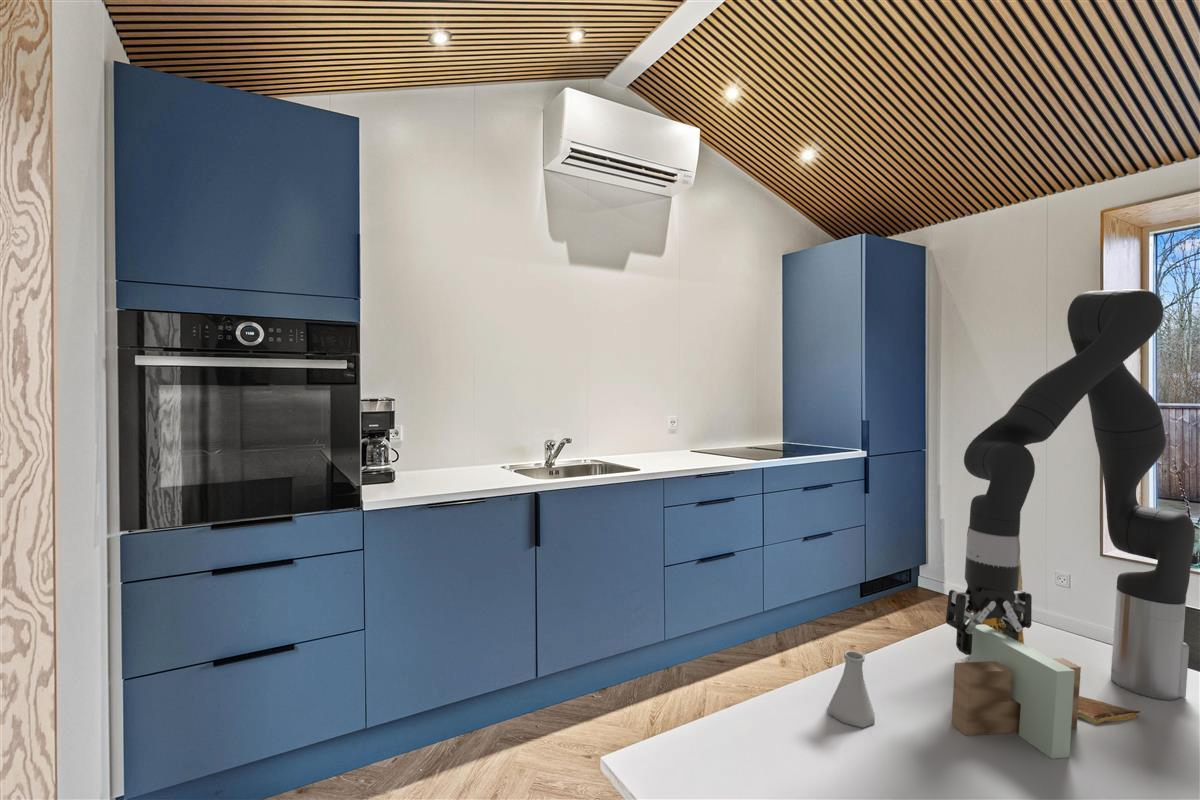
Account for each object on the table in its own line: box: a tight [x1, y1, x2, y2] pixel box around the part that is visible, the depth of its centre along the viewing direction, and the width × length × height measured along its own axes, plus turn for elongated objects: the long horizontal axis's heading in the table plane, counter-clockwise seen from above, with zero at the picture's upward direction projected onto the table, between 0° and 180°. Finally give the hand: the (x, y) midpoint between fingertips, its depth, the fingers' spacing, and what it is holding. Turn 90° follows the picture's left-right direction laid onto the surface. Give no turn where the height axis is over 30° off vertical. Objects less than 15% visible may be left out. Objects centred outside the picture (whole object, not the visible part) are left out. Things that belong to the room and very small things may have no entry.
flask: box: [827, 649, 875, 729], centre depth 93 cm, size 7×7×10 cm
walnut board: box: [950, 657, 1082, 737], centre depth 92 cm, size 20×3×10 cm, turn 99°
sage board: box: [967, 624, 1075, 760], centre depth 92 cm, size 16×3×13 cm, turn 9°
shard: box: [1078, 695, 1141, 725], centre depth 96 cm, size 11×8×2 cm
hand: (986, 651), depth 98 cm, fingers open, 8 cm apart
